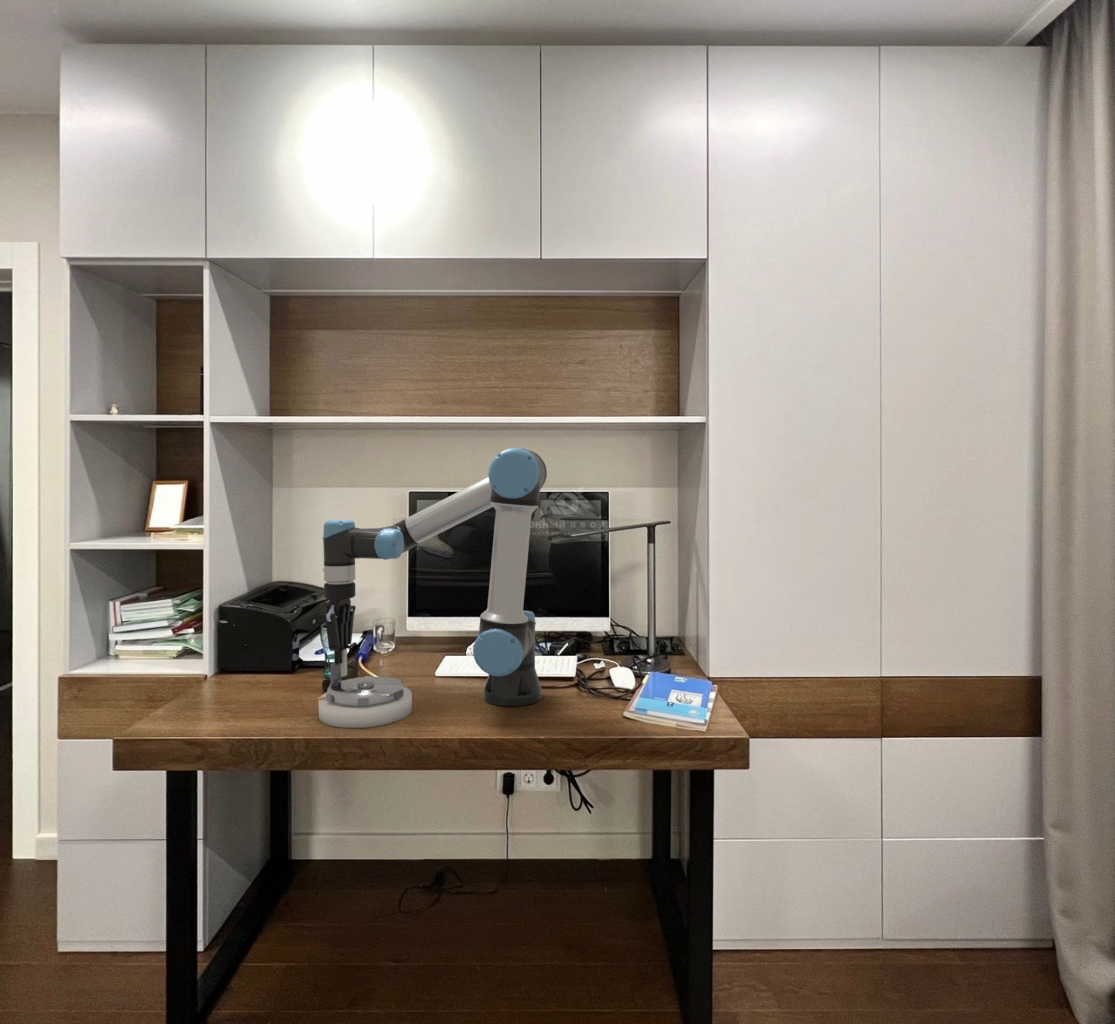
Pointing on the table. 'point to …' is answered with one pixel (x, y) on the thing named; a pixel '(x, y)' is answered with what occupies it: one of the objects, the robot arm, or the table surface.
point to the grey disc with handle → (362, 689)
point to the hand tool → (351, 673)
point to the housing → (365, 712)
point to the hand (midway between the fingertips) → (340, 675)
